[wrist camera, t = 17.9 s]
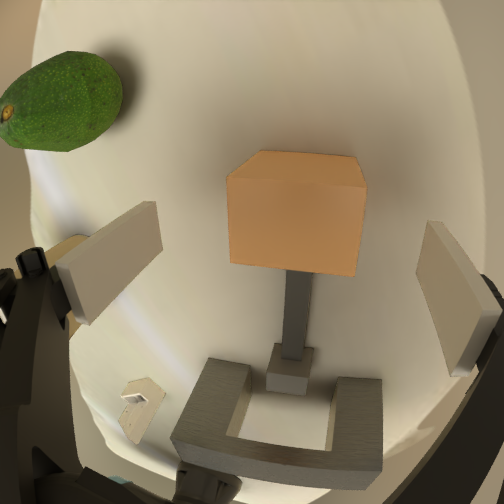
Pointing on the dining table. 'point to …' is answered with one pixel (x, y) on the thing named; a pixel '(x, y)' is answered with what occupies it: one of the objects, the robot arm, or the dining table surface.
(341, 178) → the plug
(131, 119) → the dining table surface
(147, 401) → the white angled block
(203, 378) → the housing
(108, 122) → the avocado
